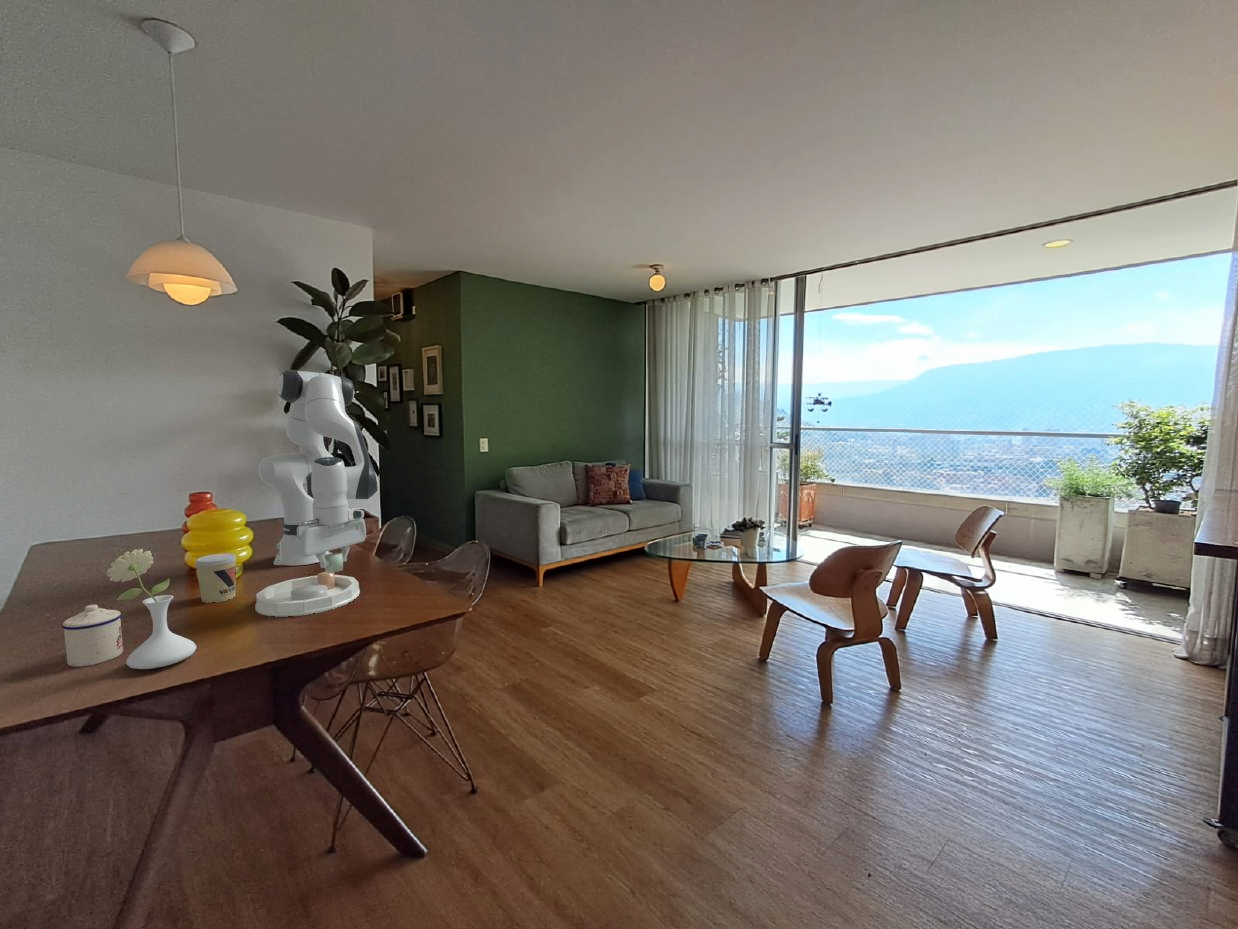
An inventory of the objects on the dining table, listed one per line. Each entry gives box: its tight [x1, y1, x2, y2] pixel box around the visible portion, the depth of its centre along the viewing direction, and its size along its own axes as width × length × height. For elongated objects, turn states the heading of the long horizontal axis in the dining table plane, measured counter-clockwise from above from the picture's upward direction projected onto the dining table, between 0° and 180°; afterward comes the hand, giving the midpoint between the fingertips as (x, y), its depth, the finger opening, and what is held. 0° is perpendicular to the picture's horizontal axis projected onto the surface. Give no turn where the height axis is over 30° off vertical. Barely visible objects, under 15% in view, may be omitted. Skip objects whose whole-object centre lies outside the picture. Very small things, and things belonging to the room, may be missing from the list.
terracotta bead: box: [317, 571, 336, 590], centre depth 159 cm, size 4×4×4 cm
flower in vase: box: [106, 548, 197, 670], centre depth 112 cm, size 13×11×25 cm
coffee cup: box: [194, 553, 237, 604], centre depth 152 cm, size 9×9×12 cm
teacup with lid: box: [61, 604, 124, 668], centre depth 115 cm, size 12×9×12 cm
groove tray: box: [254, 574, 361, 618], centre depth 151 cm, size 26×26×4 cm
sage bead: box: [324, 552, 344, 573], centre depth 150 cm, size 4×4×4 cm
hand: (333, 564), depth 150 cm, fingers closed on sage bead, 4 cm apart
